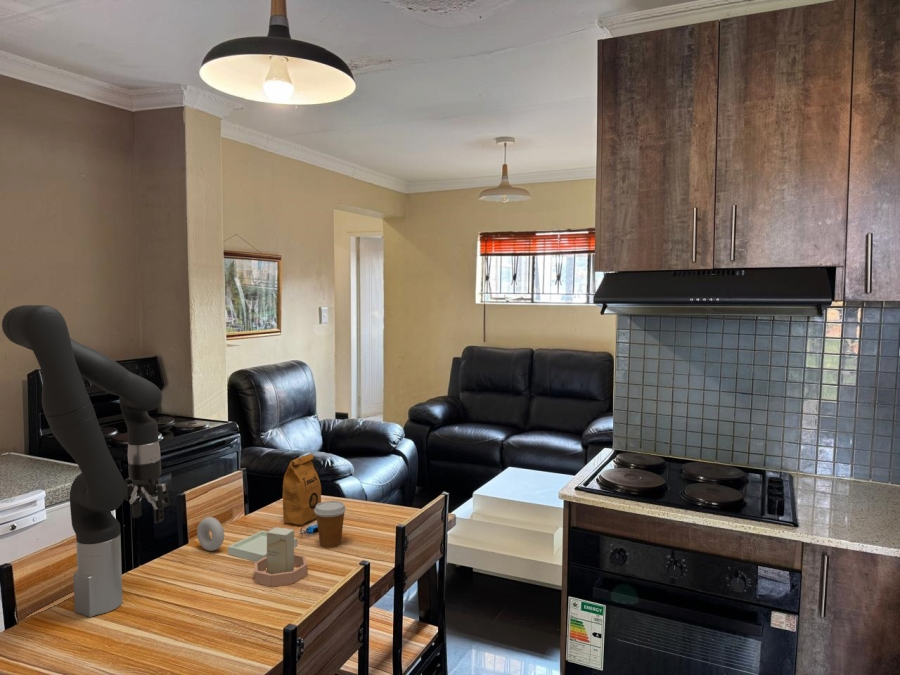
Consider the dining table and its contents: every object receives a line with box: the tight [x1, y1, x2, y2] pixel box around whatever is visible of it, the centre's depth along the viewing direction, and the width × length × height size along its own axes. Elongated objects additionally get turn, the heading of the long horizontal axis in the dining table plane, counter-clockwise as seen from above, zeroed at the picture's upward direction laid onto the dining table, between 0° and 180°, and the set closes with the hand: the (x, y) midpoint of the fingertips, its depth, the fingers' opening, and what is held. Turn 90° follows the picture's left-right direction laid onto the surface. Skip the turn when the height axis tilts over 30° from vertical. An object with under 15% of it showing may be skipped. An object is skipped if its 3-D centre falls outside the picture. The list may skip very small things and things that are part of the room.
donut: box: [196, 516, 225, 552], centre depth 179 cm, size 10×3×10 cm, turn 61°
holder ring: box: [253, 553, 308, 588], centre depth 163 cm, size 14×14×3 cm
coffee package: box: [282, 453, 322, 525], centre depth 204 cm, size 10×12×22 cm
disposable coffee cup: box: [314, 500, 347, 549], centre depth 184 cm, size 10×10×12 cm
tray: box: [227, 530, 298, 563], centre depth 179 cm, size 14×14×2 cm
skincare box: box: [266, 526, 295, 574], centre depth 163 cm, size 6×4×12 cm
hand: (148, 519), depth 157 cm, fingers open, 8 cm apart
